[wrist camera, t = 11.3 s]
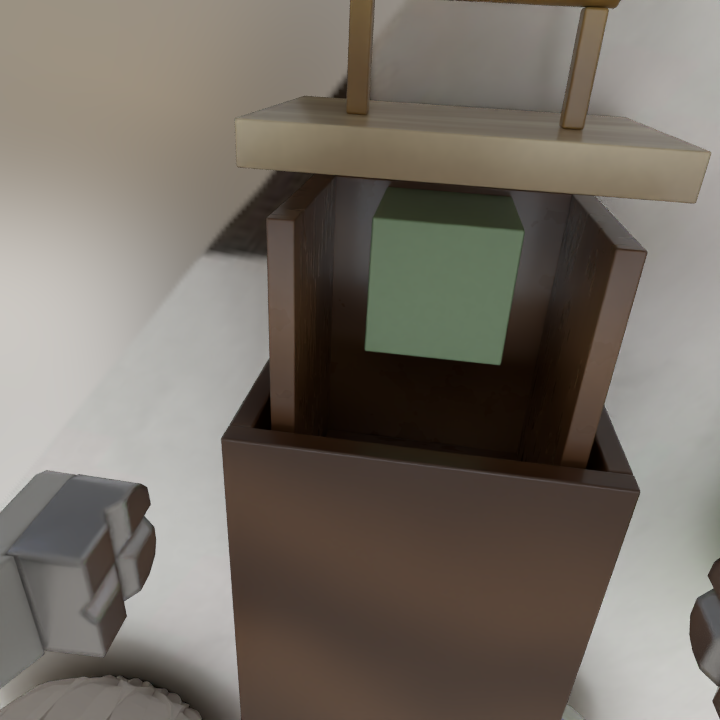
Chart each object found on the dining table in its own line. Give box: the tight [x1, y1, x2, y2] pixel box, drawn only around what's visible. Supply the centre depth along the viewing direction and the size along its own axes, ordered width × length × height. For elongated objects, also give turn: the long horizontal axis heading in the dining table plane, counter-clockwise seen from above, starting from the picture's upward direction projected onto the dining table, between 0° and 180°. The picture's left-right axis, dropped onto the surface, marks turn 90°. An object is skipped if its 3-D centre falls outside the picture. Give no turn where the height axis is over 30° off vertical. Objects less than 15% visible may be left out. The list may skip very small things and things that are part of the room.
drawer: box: [235, 0, 711, 469], centre depth 20 cm, size 19×11×8 cm, turn 177°
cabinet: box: [221, 358, 640, 720], centre depth 26 cm, size 16×13×10 cm
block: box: [364, 187, 525, 365], centre depth 21 cm, size 4×4×4 cm
